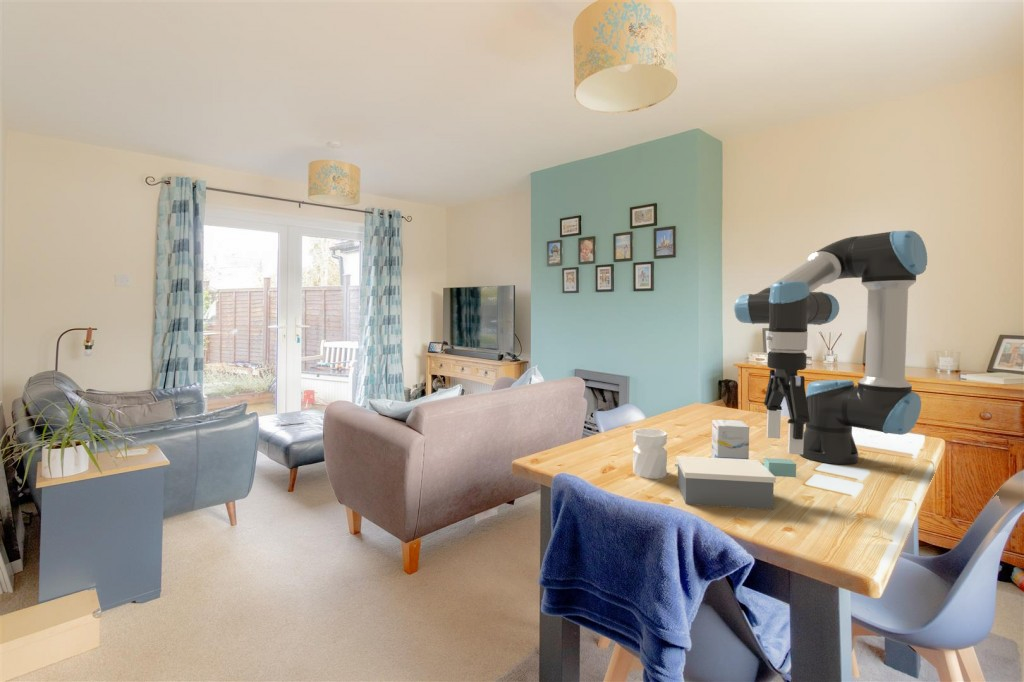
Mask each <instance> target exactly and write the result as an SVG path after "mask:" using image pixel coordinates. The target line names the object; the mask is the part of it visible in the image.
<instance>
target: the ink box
mask: <svg viewBox="0 0 1024 682" xmlns="http://www.w3.org/2000/svg"><path fill="white" fill-rule="evenodd" d="M711 423H712V424H711V451H710V452H711V453H710V454H711V455H710V456H711V457H710V458H731V459H749V458H750V456H749V455H750V451H749V450H750V426H748V424H746V423H745V422H744V421H743V420H734V419H733V420H732V419H712V420H711Z"/></svg>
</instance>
